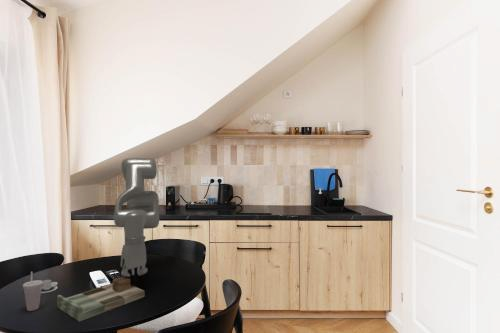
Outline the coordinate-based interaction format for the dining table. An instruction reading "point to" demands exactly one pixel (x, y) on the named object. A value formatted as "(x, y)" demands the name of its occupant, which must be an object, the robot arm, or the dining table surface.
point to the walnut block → (121, 284)
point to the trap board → (97, 301)
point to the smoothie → (32, 293)
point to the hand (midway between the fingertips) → (134, 283)
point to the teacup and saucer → (49, 285)
